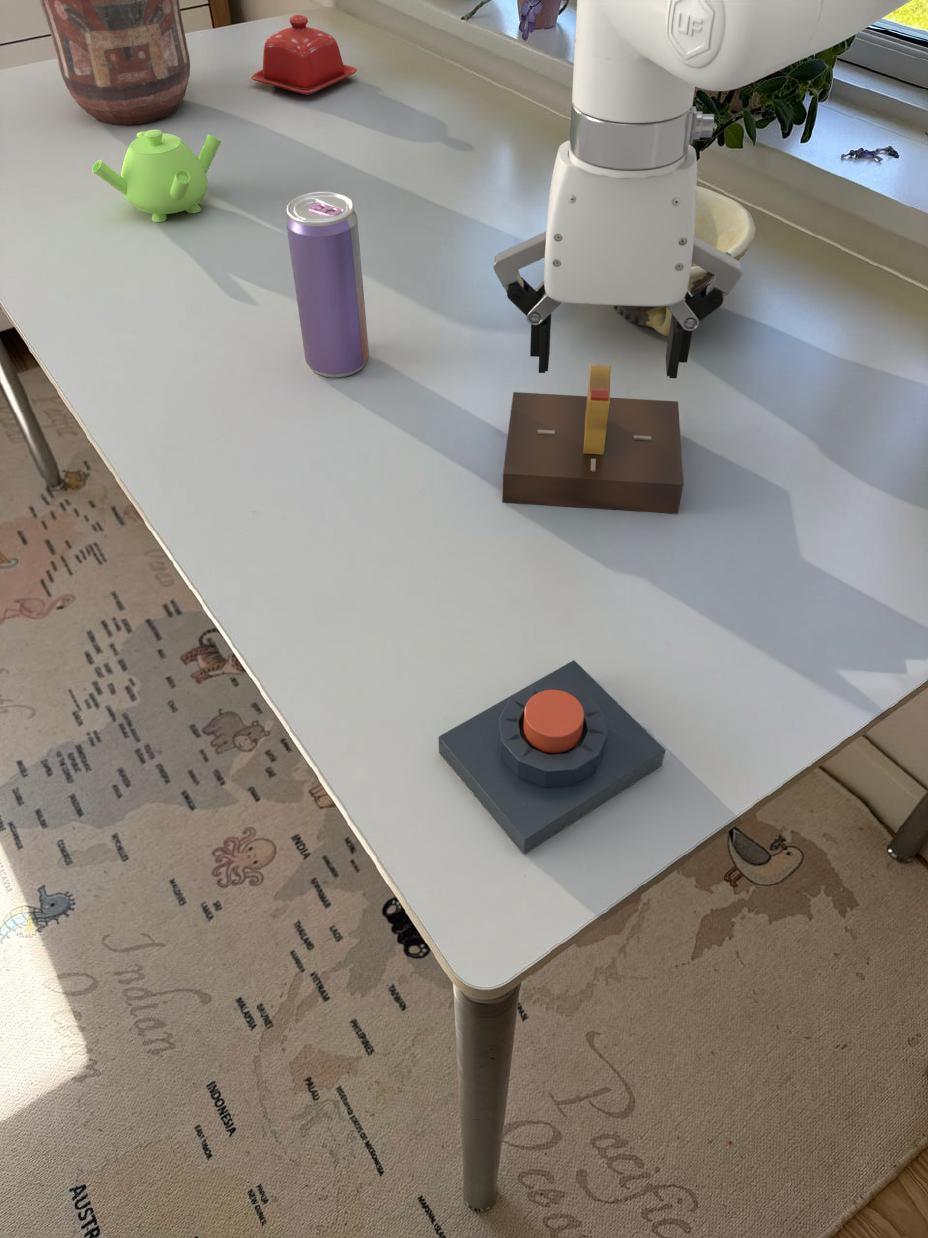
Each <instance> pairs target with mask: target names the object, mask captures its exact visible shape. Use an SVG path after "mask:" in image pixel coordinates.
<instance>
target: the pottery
mask: <svg viewBox="0 0 928 1238" xmlns="http://www.w3.org/2000/svg"><path fill="white" fill-rule="evenodd" d="M39 3H40V5H41V8H42V11H43V15H44V17H45V19H46V23H47V26H48V29H49V32H50V36H51V40H52V43H53V48H54V53H55V56H56V60H57V64H58V67H59V71H60V74H61V77H62V78H61V79H62V80H63V82H64V84H65V86H66V88H67V90H68V92H69V94H70V96H71V97H72V98H73V99H74V101H75V102H76V104H77V105H78V106H79V107H80V108H81V109H82V110H83V111H85V112H86V113H88V114H89V115H90V116H91V117H93V118H94V119H95V120H97V121H99V122H101V123H103V124H104V123H105V124H109V125H116V126H135V125H142V124H148V123H152V122H156V121H159V120H163V119H164V118H166V117H168V116H170V115H171V114H173V113H174V112H175V110H176V109H177V108H178V107H179V105H180V104H181V102H182V101H183V99H184V97H185V95H186V92H187V88H188V84H189V81H190V76H191V60H190V52H189V47H188V43H187V39H186V33H185V28H184V24H183V18H182V12H181V5H180V0H39Z"/></svg>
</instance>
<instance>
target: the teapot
mask: <svg viewBox="0 0 928 1238" xmlns="http://www.w3.org/2000/svg"><path fill="white" fill-rule="evenodd" d="M221 142H222V140H221V139H219V138H217V136H214V135H212V134H211V133H208V134H207V136H206V138H205V141H204V143H203V145H202V147H201V150H200V151H199V154H198V157H197V155H196V154H195V153H194V152H193V150H192V149H191V148H190V147H189V146H188V145H187V144H186V142H185V141H183V140H182V139H181V138H180V137H179V136H178V135H175V134H172V133H164V132H163V131H162V130H161V129H150V130H147V131H139V132H137V133H136V138H135V139H133V140H132V141H131V142H130V144H129V145H128V148H127V150H126V152H125V155H124V159H123V162H122V166H121V171H120V174H119V173H118V172H116V171H115V170H114V169H113V168H112V167H110V166H109V165H108V164H106V163H105V162H103V161H102V159H98V160H96V161H95V162H94V164H93V166H92V168H91V172H92V173H93V174H95V175H96V176H97V177H99V178H100V179H102V180H103V181H104V182H106V183H107V184H108V185H110V186H111V187H113V188H114V189H116V190H117V191H118V192H120V193H121V194H122V195H123V197H124V198H125V200H126V201H127V202H128V203H130V205H132V206H133V207H135V208H136V209H137V210H139V211H141V212H143V213H147V214H152V216H151V221H152V222H154V223H162V222H165V221H167V220H168V214H175V213H180V212H183V211H186V213H188V214H196V213H199V212H201V210H202V207H200V206H199V205H198V204H199V203H200V202H201V200H202V199H203V198H204V196H205V194H206V193H207V190H208V186H209V181H208V176H207V173H208V170H209V168H210V167H211V164H212V163H213V160H214V159H215V156H216V154H217V152H218V149H219V147H220V145H221Z"/></svg>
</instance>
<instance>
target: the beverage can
mask: <svg viewBox="0 0 928 1238" xmlns="http://www.w3.org/2000/svg"><path fill="white" fill-rule="evenodd" d="M286 214H287V215H286V219H285V225H286V232H287V239H288V248H289V253H290V260H291V267H292V274H293V275H292V276H293V282H294V289H295V297H296V303H297V310H298V318H299V323H300V331H301V332H300V333H301V338H302V345H303V353H304V360H305V363H306V364H307V365H308V367H309V369H311V370H312V371H313V372H314V373H316V374H318V375H320V376H322V377H326V378H332V379H333V378H337V379H338V378H345V377H348V376H352V375H354V374H356V373H358V372H359V371H360V370H362V369H363V368H364V366H365V365H366V363H367V362H368V359H369V357H370V349H369V339H368V337H369V336H368V326H367V325H368V324H367V315H366V314H367V313H366V304H365V303H366V302H365V292H364V280H363V270H362V269H363V268H362V256H361V246H360V245H361V244H360V233H359V223H358V222H359V221H358V215H357V212H356V211H355V204H354V202H353V200H352V199H351V198H350V197H349V196H347V195H344V194H342V193H339V192H335V191H314V192H308V193H304V194H301V195H299V196H297V197H295V198H293V199H291V200H290V201H289V203H288V204H287V205H286Z"/></svg>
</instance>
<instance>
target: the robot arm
mask: <svg viewBox="0 0 928 1238" xmlns="http://www.w3.org/2000/svg"><path fill="white" fill-rule="evenodd" d="M912 1H913V0H577V1H576V18H575V19H576V20H575V34H574V35H575V36H574V37H575V39H574V53H573V54H574V55H573V57H574V58H573V73H572V75H573V76H572V92H571V93H572V94H571V112H570V130H569V140H567V141H564V142H563V143H561V144H560V145H559V147H558V150H557V153H556V158H555V161H554V166H553V171H552V177H551V183H550V189H549V197H548V205H547V206H548V207H547V219H546V228H545V231H544V232H542V233H540V234H537V235H535V236H533V237H531V238H528V239H526V240H525V241H522V242H520V243H518V244H515V245H514V246H511V247H509V248H507V249H505V250H502V251H501V252H498V253H497V254H496V255H495V256H494V260H493V261H494V262H493V266H492V267H493V271H494V273H495V275H496V277H497V279H498V280H499V282H500V284H501V286H502V288H503V289H504V290H505V292H506V296H507V298H508V300H509V301H510V302H511V303H512V304H513V305H514V306H516V307H517V309H519V310H520V311H521V313H523V314H524V315H525V316H526V320H527V322H528V324H530V345H529V346H530V347H529V348H530V350H529V357H533V358H534V357H535V358H536V357H537V358H538V374H546V372H549V363H550V352H551V351H550V350H551V331H552V330H551V329H552V313H553V312H554V311H555V310H556V309H557V308H558V307H559V306H560V305H561V304H562V303H564V304H572V305H573V304H574V305H594V306H613V305H618V306H666V307H667V308H668V309H669V311H670V312H671V313H672V315H671V322H670V329H669V336H667V337H668V338H667V344H666V352H665V368H666V377H668V378H669V379H677V377H678V371H679V367H680V366H679V365H680V363H688V360H689V354H690V347H691V341H692V335H693V331H695V330H696V329H697V328H698V327H699V324H700V322H701V321H702V320H704V319H705V318H707V317H708V316H709V315H711V314H712V313H713V312H715V311H716V310H717V309H718V308H720V307H722V305H723V303H724V299H725V298H726V297H727V296H729V294H730V293H731V292H732V290H733V289H734V288H735V286H736V285H737V284H738V282H739V281H740V280H741V278H742V277H743V270H742V263H741V262H740V260H739V261H738V260H736V259H734V258H732V257H731V256H729V255H727V254H725V253H724V252H722V251H720V250H718V249H716V248H715V247H713V246H711V245H709V244H708V243H706V242H704V241H702V240H700V239H699V238H697V237H695V236H694V232H695V219H696V187H697V186H698V185H697V183H698V163H697V162H698V160H697V159H698V158H697V152H696V149H695V148H694V147H693V146H692V145H693V143H694V140H700V138H712V137H713V132H714V124H715V114H714V113H703V111H698V110H697V106H693V105H694V98H695V91H696V90H695V89H696V88H698V89H701V90H705V91H711V92H727V91H733V90H736V89H740V88H743V87H745V86H748V85H750V84H752V83H755V82H756V81H758V80H761V79H763V78H766V77H767V76H769V75H772V74H774V73H776V72H778V71H781V70H783V69H785V68H786V67H788V66H790V65H792V64H795V63H797V62H799V61H801V60H804V59H806V58H808V57H810V56H813V55H815V54H818V53H820V52H823V51H826V50H828V49H830V48H832V47H834V46H837V45H838V44H840V43H842V42H844V41H846V40H848V39H850V38H851V37H853V36H855V35H857V34H859V33H860V32H861V31H864V30H865V29H867V28H869V27H870V26H872V25H874V24H875V23H877V22H878V21H880V20H882V19H884V18H886V16H888V15H890V14H891V13H893V12H895V11H897V10H898V9H900V8H902V7H903V6H905V5H906V4H908V3H910V2H912ZM541 260H543V281H542V282H541V283H540V284H539V285H538V286H537V287H536V288H533V287H532V285H530V283H528V282H527V281H526V280H525V278H523V277H522V276H521V273H520V271H519V270H521V269H523V268H526V267H527V266H530V265H532V264H534V263H537V262H539V261H541ZM691 263H694V264H695V265H697V266H699V267H701V268H703V269H704V270H706V271H708V272H710V273H712V274H713V275H715V276H714V277H713V278H712V279H711V280H710V282H708V283H707V284H706V285H705V286H704V287H703V288H702V289H701V290H699V291H698V292H697V293H696V294H694V295H692V294H691V293H690V291H689V290H688V284H689V278H690V271H691Z"/></svg>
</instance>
